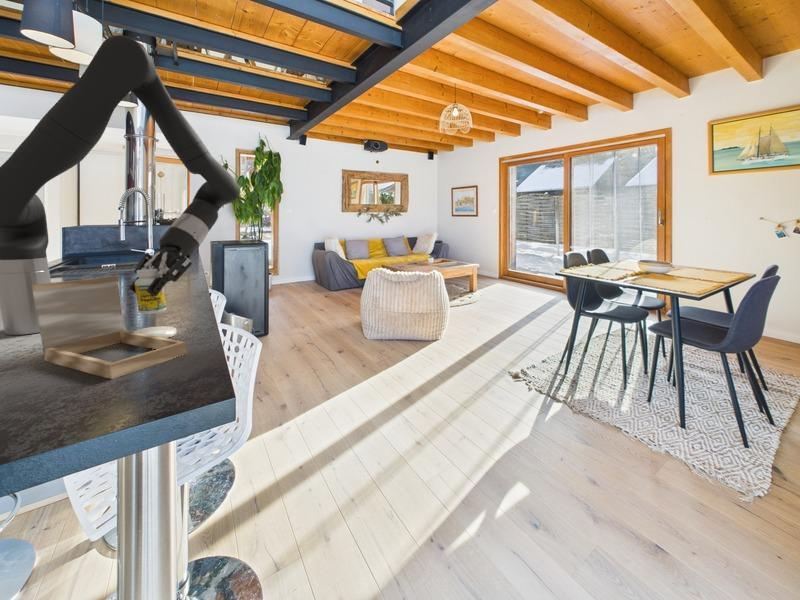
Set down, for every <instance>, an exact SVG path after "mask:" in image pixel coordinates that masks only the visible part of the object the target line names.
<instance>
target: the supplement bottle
mask: <svg viewBox="0 0 800 600" xmlns="http://www.w3.org/2000/svg"><path fill="white" fill-rule="evenodd" d="M136 276H137V277H139V279H137V280H136V281H135V280H134V281H135V290H136V293H135V295H136V302H137V303H136V304H137V308H138V313H140V314H142V315H143V314H144V315H146V314H147V315H149V314H150V315H151V314H157V313H162V312H164V311H167V304H166V303H167V302H166V294H165V286H164V287H163V288H162V290H161V291H160V292H159V293H158V295H157V296H152V295H151V294H149V293H148V292H147V289H148V287H149V286H150V285H151V284H152V282H153V281H154V280H155V278H158V270H157V269H156V268H153V269H143V268H142V269H141V270H137V274H136Z"/></svg>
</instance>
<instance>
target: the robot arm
mask: <svg viewBox="0 0 800 600" xmlns="http://www.w3.org/2000/svg"><path fill="white" fill-rule="evenodd" d="M130 93H132V94H133V95H134V96H135V97H136V98H137V99H138V101H140V102H141V104H142V105H143V106H144V108H145V109H146V110H147V112H148V113H149V114H150V115H151V117H152V119H153V120H154V122H155V123H156V124H157V127H158V128H159V130H160V131H161V133H162V135H163V136H164V138H165V139H166V141H167V143H168V145H169V146H170V148H171V149H172V150H173V152H174V153H175V154H176V156H177V157H178V159H179V160H180V161H181V163H182V165H183V166H184V167H185V168H186V169H187V171H188V172H189V173H191V174H192V175H199V176H201V177H202V178H203V179H204V180H205V182H204V183H203V184H201V185H200V187H199V188H198V190H197V191H196V193H195V195H194V197H193V199H192V201H191V203H190V204H188V206H187V207H186V208H185V209H184V211H183V212H182V213H181V214H180V216H178V217H177V218H176V219H175V220H174V221H173V222H172V224H171V225H170V226H169V227H168V229H167V230H166V231H165V233H163V235H162V236H161V237H160V238H159V240H158V244H159V249H158V250H157V251H156V252H155V253H154V254H151V253H149V252H146V253H145V254H143V256H142V258H141V259H140V261H139V263H138V264H137V265H136V268H135V269H134V271H133V273H135V274H136V275H137V270H142V269H157V270H158V276H157V278H155V280H154V281H153V282H152V284H151V285H150V286H149V287H148V289H147V292H148V293H149V294H151V295H152V296H157V295H158V293H159V292H160V291H161V290H162V288H163V287H164V288H165V286H166V284H169V283H170V282H173V283H175V282H177V281H178V280H179V279H180V278H181V276H183V274H185V272H186V271H187V270H188V269H189V268H190V267H191V266H192V265H193V262H192V261H191V258H192V257H193V256H194V255H195V254H196V252H197V250H198V249H199V247H200V246H201V245H202V244H203V242H204V241H205V239H206V237H207V235H208V233H209V232H210V231H211V229H212V228H213V227H214V225H215V224H216V223H217V221H218V219H219V210H220V209H221V208H222V207H223V206H225V205H228V204H230V203H232V202H233V203H234V202H235V201H236V200H238V198H239V195H240V188H239V185H238V183H237V181H236V179H235V178H234V176H233V175H232V174H231V173H230V172H229V171H228V170H226V168H225V167H223V165H221V163H220V162H219V161H218V160H216V159H215V158H214V157H213V155H212V154H211V153H210V151H209V149H208V148H207V147H206V145H205V143H204V142H203V140H202V139H201V137H200V136H199V135H198V133H197V132H196V131H195V129H194V128H193V127H192V125H191V124H190V123H189V121H188V120H187V119H186V118H185V116H184V114H182V112H181V110H180V109H179V107H178V106H177V105H176V103H175V102H174V101H173V99H172V98H171V96H170V93H169V92H168V91H167V88H166V86H165V84H164V83H163V80H162V79H161V76H160V74H159V73H158V71H157V69H156V65H155V63H154V60H153V58H152V56H151V55H150V54H149V53H148V51H147V50H146V48H144V46H143V45H142V44H141V43H140V42H138V41H137V40H135V38H132V37H131V36H130V37H129V36H127V35H122V34H121V35H120V34H118V35H116V34H115V35H112V36H109V37H108V38H106V39H105V40H104V41H103V42H102V43H101V45H99V48H98V50H97V51H96V52H95V54H94V56H93V58H92V59H91V61H90V63H89V64H88V66H87V68H86V69H85V70H84V72H83V73H82V75H81V76H80V77H79V78H78V80H77V81H76V82H74V84H73V85H72V86H70V87H69V89H67V90H66V92H65V93H64V94H62V96H61V97H60V98H59V100H57V101H56V102H55V104H54V105H53V106H52V107H51V108H50V109H49V110H48V111H47V112H46V114H45V115H43V116H42V118H41V119H40V120H39V121H38V122H37V124H36V125H35V127H34V128H33V130H32V131H31V132H30V133H29V134H28V135H27V136H26V138H24V140H23V141H22V142H21V143H20V144H19V146H18V147H17V148H16V149H15V150H14V152H13V153H12V154H11V156H10V157H8V159H7V160H5V161H4V163H3V164H2V165H1V166H0V316H1V320H2V321H1V322H2V326H3V327H2V328H3V332H4V334H5V335H10V336H12V335H13V336H14V335H15V336H20V335H21V336H22V335H30V334H32V335H33V334H37V333H38V334H39V333H40V329H39V323H38V318H37V312H36V306H35V301H34V295H33V291H32V286H31V285H38V284H47V283H52V278H51V274H50V268H49V267H50V266H49V263H48V257H47V256H48V255H47V248H48V245H49V232H48V223H47V214H46V209H45V206H44V204H43V201H42V200H41V198H40V197H39V196H38V195H37V193H38V191H40V189H41V188H42V187H43V186H44V185H45V184H47V183H48V182H50V181H51V180H53V179H55V178H56V177H58V176H59V175H62V174H63V173H65V172H66V171H68V170H70V169H72V168H73V167H75V166H77V165H78V164H79V163H80V162H82V161H83V160H84V159H86V156H87V155H88V154H89V153H90V152H91V151H92V150H93V148H94V147H95V146H96V145H97V144H98V143H99V141H100V140H101V138H102V136H103V134H104V133H105V130H106V128H107V126H108V124H109V122H110V120H111V118H112V115H113V113H114V111H115V110H116V108H117V107H118V105H119V104H120V103H121V102H122V101H123V100H124V99H125V98H126V97H127V96H128V95H129V94H130ZM137 279H139V277H138V276H137V277H136V278H135V279H134V280H133V282H132V283H131V284H130V286H129V287H128V290H129V291H130V292H132V293H133V294H136V290H135V281H136V280H137Z"/></svg>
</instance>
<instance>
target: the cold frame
mask: <svg viewBox="0 0 800 600" xmlns="http://www.w3.org/2000/svg"><path fill="white" fill-rule="evenodd" d="M31 286H32V291H33V295H34V301H35V306H36V312H37V318H38V323H39V329H40V332H39V334H40V340H41V343H42V345H41V346H42V354H43V358H44V362H47V363H51V364H53V365H59V366H61V367H66V368H69V369H73V370H76V371H80V372H83V373H87V374H90V375H94V376H98V377H103V378H105V379H109V380H115V379H118V378H121V377H123V376H126V375H129V374H132V373H135V372H138V371H142V370H144V369H147V368H150V367H153V366H156V365H159V364H162V363H164V362H167V361H171V360H173V358H174V359H177V358H179V357H182V356H185V355H187V354H188V350H187V342H186V341H181V340H176V339H172V338H169V339H167V338H162V337H156V336H151V335H146V334H141V333H136V332H133V331H129V330H125V328H124V319H123V313H122V305H121V296H120V289H119V278H118V276H116V275H115V276H105V277H104V276H103V277H95V278H93V277H92V278H85V279H77V280H68V281H58V282H56V281H55V282H51V283H47V284H38V285H31ZM120 342H122V343H123V344H125V345H126V344H127V345H131V346H135V347H136V346H137V347H140V348H146V349H150V348H152V349H151V350H150V351H147V352H143V353H140V354H136V355H133V356H130V357H127V358H122V359H119V360H118V361H114V362H112V361H108V360H104V359H99V358H96V357H92V356H88V355H84V354H83V353H86V352H90V351H94V350H98V349H102V348H105V346H106V347H109V345H110V346H113V344H114V345H116V343H117V344H120ZM154 349H156V350H154ZM184 354H185V355H184ZM181 355H182V356H181ZM178 356H179V357H178ZM176 357H177V358H176Z"/></svg>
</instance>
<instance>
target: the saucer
mask: <svg viewBox="0 0 800 600" xmlns="http://www.w3.org/2000/svg"><path fill="white" fill-rule="evenodd" d="M132 332H136V333H141V334H146V335H151V336H156V337H162V338H168V337H172V336H174V335H175V334H176V333H177V328H176V327H174V326H171V325H170V326H168V325H167V326H165V325H164V326H163V325H162V326H158V325H157V326H152V327H145V328H139V329H136V330H133V331H132ZM177 334H178V333H177ZM174 337H175V336H174ZM172 338H173V337H172Z"/></svg>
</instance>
